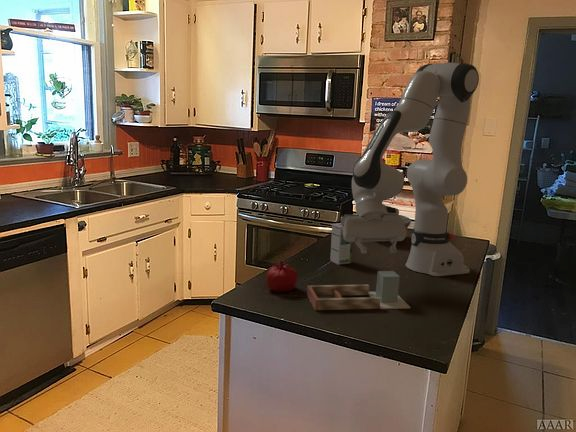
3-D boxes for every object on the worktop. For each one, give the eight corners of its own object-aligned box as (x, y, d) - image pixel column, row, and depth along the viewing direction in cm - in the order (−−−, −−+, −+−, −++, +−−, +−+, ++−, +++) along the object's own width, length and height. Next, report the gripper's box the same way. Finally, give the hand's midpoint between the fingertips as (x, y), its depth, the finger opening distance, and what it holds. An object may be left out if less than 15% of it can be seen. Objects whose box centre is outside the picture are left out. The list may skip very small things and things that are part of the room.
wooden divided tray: (367, 293, 149) (367, 284, 148) (379, 308, 138) (380, 298, 137) (310, 294, 146) (310, 285, 145) (318, 310, 135) (319, 300, 134)
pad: (394, 292, 151) (394, 291, 151) (410, 308, 139) (410, 307, 139) (366, 292, 149) (366, 291, 149) (380, 309, 137) (380, 307, 137)
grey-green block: (391, 295, 147) (393, 270, 145) (397, 302, 142) (399, 276, 140) (375, 296, 146) (377, 271, 144) (381, 302, 141) (383, 276, 139)
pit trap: (335, 294, 147) (335, 284, 147) (345, 309, 136) (346, 299, 136) (306, 294, 146) (307, 285, 145) (315, 310, 135) (315, 300, 134)
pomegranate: (294, 297, 144) (296, 267, 142) (262, 293, 146) (263, 264, 144) (299, 285, 154) (301, 257, 151) (269, 281, 155) (270, 254, 153)
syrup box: (338, 265, 175) (340, 226, 172) (329, 260, 180) (332, 222, 177) (351, 263, 178) (354, 225, 175) (342, 258, 183) (344, 221, 180)
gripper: (341, 209, 152) (349, 248, 145) (403, 209, 156) (413, 246, 148) (337, 219, 157) (344, 257, 150) (396, 219, 161) (406, 256, 154)
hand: (378, 252), depth 149 cm, fingers open, 8 cm apart
